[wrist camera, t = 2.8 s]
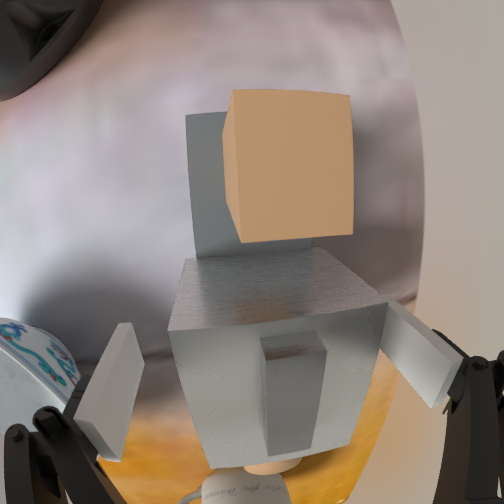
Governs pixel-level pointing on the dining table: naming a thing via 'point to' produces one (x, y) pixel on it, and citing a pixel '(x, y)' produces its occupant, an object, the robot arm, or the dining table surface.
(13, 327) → the chinaware
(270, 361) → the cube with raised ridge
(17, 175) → the dining table surface
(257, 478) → the teacup
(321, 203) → the plane
